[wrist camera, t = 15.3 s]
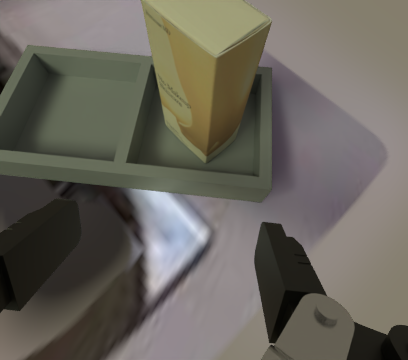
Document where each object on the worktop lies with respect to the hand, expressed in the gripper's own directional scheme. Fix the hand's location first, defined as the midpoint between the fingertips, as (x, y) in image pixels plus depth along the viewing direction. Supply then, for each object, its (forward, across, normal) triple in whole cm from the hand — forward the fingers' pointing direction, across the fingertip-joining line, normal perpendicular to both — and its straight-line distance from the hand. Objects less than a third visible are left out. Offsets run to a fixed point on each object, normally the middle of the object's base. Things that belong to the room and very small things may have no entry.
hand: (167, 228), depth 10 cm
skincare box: (+15, 0, -1) cm, 15 cm away
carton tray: (+16, +6, -1) cm, 17 cm away
